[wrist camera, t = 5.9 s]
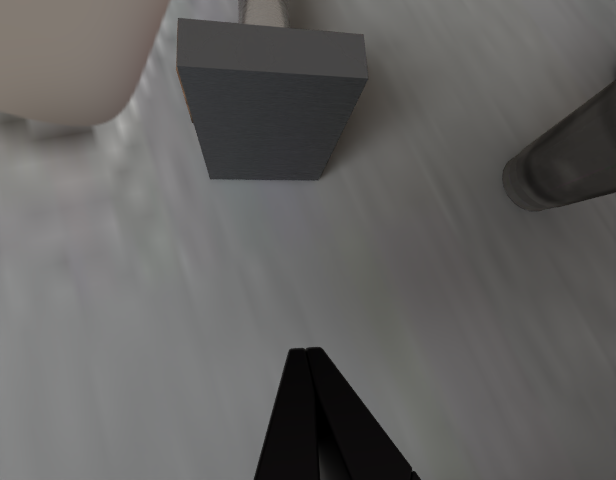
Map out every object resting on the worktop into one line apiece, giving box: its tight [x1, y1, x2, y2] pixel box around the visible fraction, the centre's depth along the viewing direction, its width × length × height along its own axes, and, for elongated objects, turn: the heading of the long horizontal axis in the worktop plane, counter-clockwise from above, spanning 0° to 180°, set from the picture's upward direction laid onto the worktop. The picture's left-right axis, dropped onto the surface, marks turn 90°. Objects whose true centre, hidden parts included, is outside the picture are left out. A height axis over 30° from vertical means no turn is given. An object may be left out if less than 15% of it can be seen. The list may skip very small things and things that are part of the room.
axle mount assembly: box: [177, 0, 368, 180], centre depth 19 cm, size 14×7×10 cm, turn 3°
